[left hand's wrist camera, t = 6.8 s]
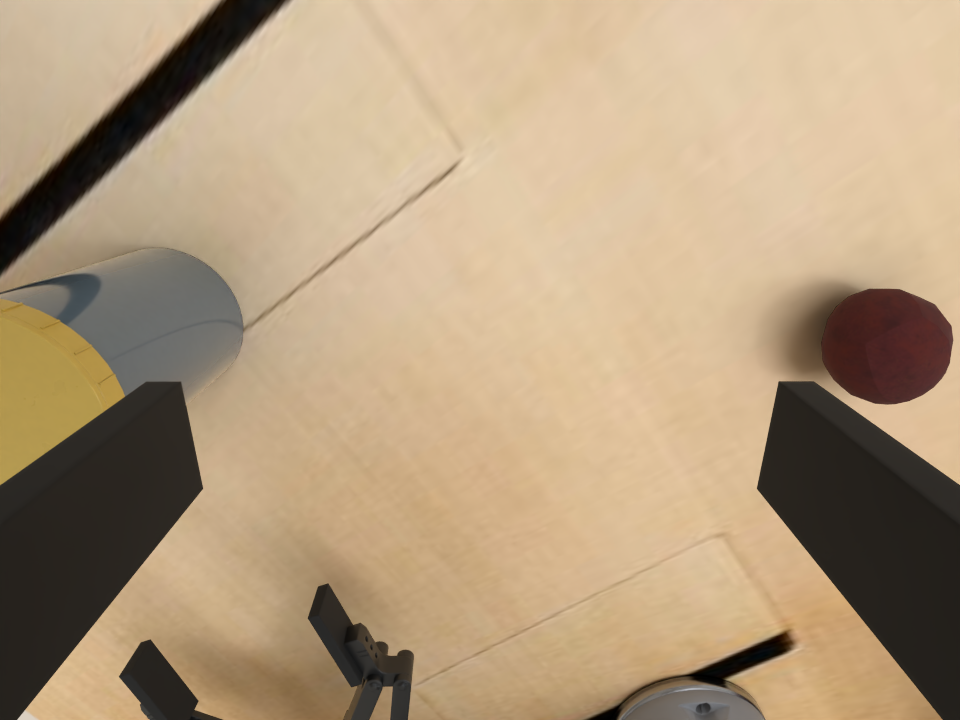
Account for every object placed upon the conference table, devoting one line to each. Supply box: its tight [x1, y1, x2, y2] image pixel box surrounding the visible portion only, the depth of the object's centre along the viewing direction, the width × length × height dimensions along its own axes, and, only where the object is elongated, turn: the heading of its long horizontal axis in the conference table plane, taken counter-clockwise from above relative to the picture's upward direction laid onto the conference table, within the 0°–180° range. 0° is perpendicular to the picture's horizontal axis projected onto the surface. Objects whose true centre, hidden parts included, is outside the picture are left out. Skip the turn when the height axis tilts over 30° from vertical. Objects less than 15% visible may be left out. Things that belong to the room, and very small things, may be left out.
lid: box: [0, 299, 125, 485], centre depth 26 cm, size 11×11×2 cm
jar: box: [0, 248, 243, 406], centre depth 33 cm, size 10×10×16 cm
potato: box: [821, 289, 953, 404], centre depth 38 cm, size 7×8×7 cm
